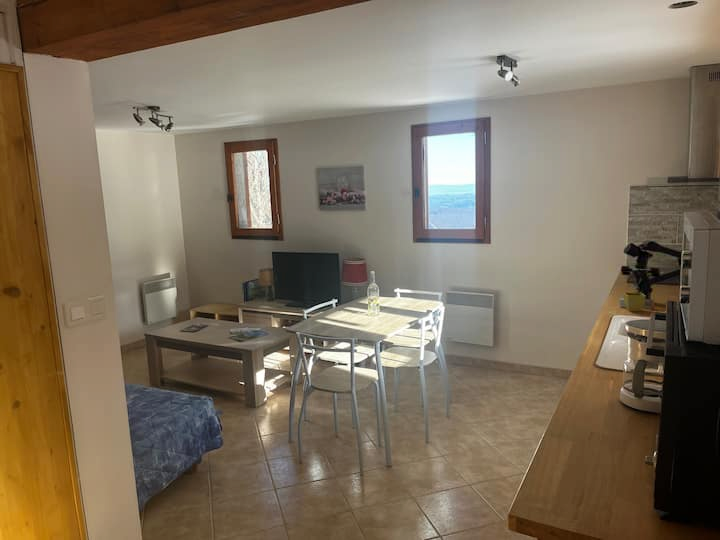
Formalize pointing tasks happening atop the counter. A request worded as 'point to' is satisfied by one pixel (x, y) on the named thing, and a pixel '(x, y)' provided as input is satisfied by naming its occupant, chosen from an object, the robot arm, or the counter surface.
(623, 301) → the grey block
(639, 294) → the flower pot
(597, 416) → the counter surface
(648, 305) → the walnut block
